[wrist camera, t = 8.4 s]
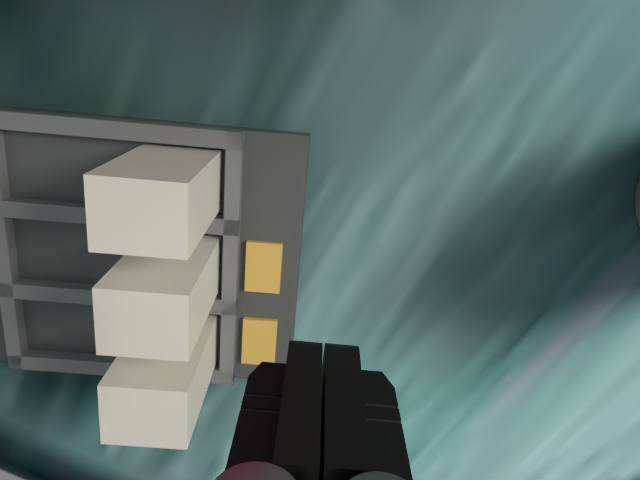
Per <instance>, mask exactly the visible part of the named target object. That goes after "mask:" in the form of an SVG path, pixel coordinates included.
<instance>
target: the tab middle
mask: <svg viewBox="0 0 640 480" xmlns="http://www.w3.org/2000/svg"><path fill="white" fill-rule="evenodd" d="M220 247H221V236H209V235H204V236H203V237H202V239H201V240H200V242H199V243H198V245H197V247H196V248H195V250H194V251H193V253H192V254H191V256H190V257H189V259H188V260H180V259H167V258H155V257H142V256H130V255H124V256H123V257H122V258H121V259H120V260H119V261H118V262H117V263H116V264H115V265H114V266H113V267H112V268H111V269H110V270H109V271H108V272H107V273H106V274H105V275H104V276H103V277H102V278H101V279H100V280H99V281H98V282H97V283H96V284H95V285H94V286H93V287H92V300H93V315H94V330H95V345H96V355H103V356H117V357H130V358H144V359H158V360H171V361H185V362H189V360H190V357H191V355H192V352H193V350H194V348H195V345H196V343H197V341H198V338H199V336H200V334H201V331H202V329H203V326H204V324H205V322H206V319H207V317H208V315H209V312H210V310H211V308H212V305H213V303H214V301H215V298H216V296H217V293H218V291H219V286H220Z"/></svg>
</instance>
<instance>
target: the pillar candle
mask: <svg viewBox="0 0 640 480" xmlns="http://www.w3.org/2000/svg"><path fill="white" fill-rule="evenodd" d="M635 214H636V218H637V221H638V225H639V227H640V176H639V179H638V183H637V187H636V192H635Z"/></svg>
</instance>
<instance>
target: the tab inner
mask: <svg viewBox="0 0 640 480" xmlns="http://www.w3.org/2000/svg"><path fill="white" fill-rule="evenodd" d="M221 174H222V150H217V149H205V148H194V147H183V146H171V145H160V144H148V143H144V144H142V145H140V146H138V147H136V148H134V149H132V150H130V151H129V152H127V153H125V154H123V155H121V156H119V157H117V158H115V159H113V160H111V161H109V162H107V163H105V164H103V165H101V166H99V167H97V168H95V169H93V170H91V171H89V172H87V173H85V174H83V180H84V195H85V211H86V226H87V241H88V252H93V253H105V254H118V255H130V256H142V257H155V258H167V259H180V260H188V259H189V257H190V256H191V254H192V253H193V251H194V250H195V248H196V247H197V245H198V243H199V242H200V240H201V239H202V237H203V236H204V234H205V232H206V231H207V229H208V228H209V226H210V225H211V223H212V221H213V220H214V218H215V217H216V215H217V214H218V212H219V210H220V209H221Z"/></svg>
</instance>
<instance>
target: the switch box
mask: <svg viewBox="0 0 640 480" xmlns="http://www.w3.org/2000/svg"><path fill="white" fill-rule="evenodd" d="M309 140H310V134H309V133H298V132H287V131H276V130H264V129H253V128H242V127H231V126H220V125H208V124H197V123H186V122H175V121H164V120H152V119H141V118H130V117H119V116H108V115H96V114H85V113H74V112H63V111H51V110H40V109H29V108H18V107H7V106H0V360H8V366H9V369H22V370H35V371H49V372H63V373H77V374H90V375H105V373H106V372H107V370H108V369H109V367H110V366H111V364H112V363H113V361H114V360H115V358H116V357H117V356H103V355H96V345H95V330H94V315H93V300H92V287H93V286H94V285H95V284H96V283H97V282H98V281H99V280H100V279H101V278H102V277H103V276H104V275H105V274H106V273H107V272H108V271H109V270H110V269H111V268H112V267H113V266H114V265H115V264H116V263H117V262H118V261H119V260H120V259H121V258H122V257H123V256H124V255H118V254H105V253H93V252H88V241H87V226H86V211H85V195H84V180H83V174H85V173H87V172H89V171H91V170H93V169H95V168H97V167H99V166H101V165H103V164H105V163H107V162H109V161H111V160H113V159H115V158H117V157H119V156H121V155H123V154H125V153H127V152H129V151H130V150H132V149H134V148H136V147H138V146H140V145H142V144H144V143H148V144H160V145H171V146H183V147H194V148H205V149H217V150H222V174H221V209H220V210H219V212H218V214H217V215H216V217H215V218H214V220H213V221H212V223H211V225H210V226H209V228H208V229H207V231H206V232H205V234H204V235H209V236H221V247H220V286H219V291H218V293H217V296H216V298H215V301H214V303H213V305H212V308H211V310H210V312H209V314H217V315H218V334H217V362H216V365H215V368H214V371H213V374H212V377H211V380H210V383H214V384H228V385H233V381H234V377H241V378H248V376H249V375H250V374H251V373H252V372H253V370H254V369H255V368H256V367H257V366H258V365H259V364H260V363H261V362H274V363H285V364H286V360H287V353H288V346H289V340H293V336H294V324H295V312H296V300H297V287H298V275H299V263H300V250H301V238H302V226H303V214H304V201H305V189H306V177H307V164H308V152H309Z"/></svg>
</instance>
